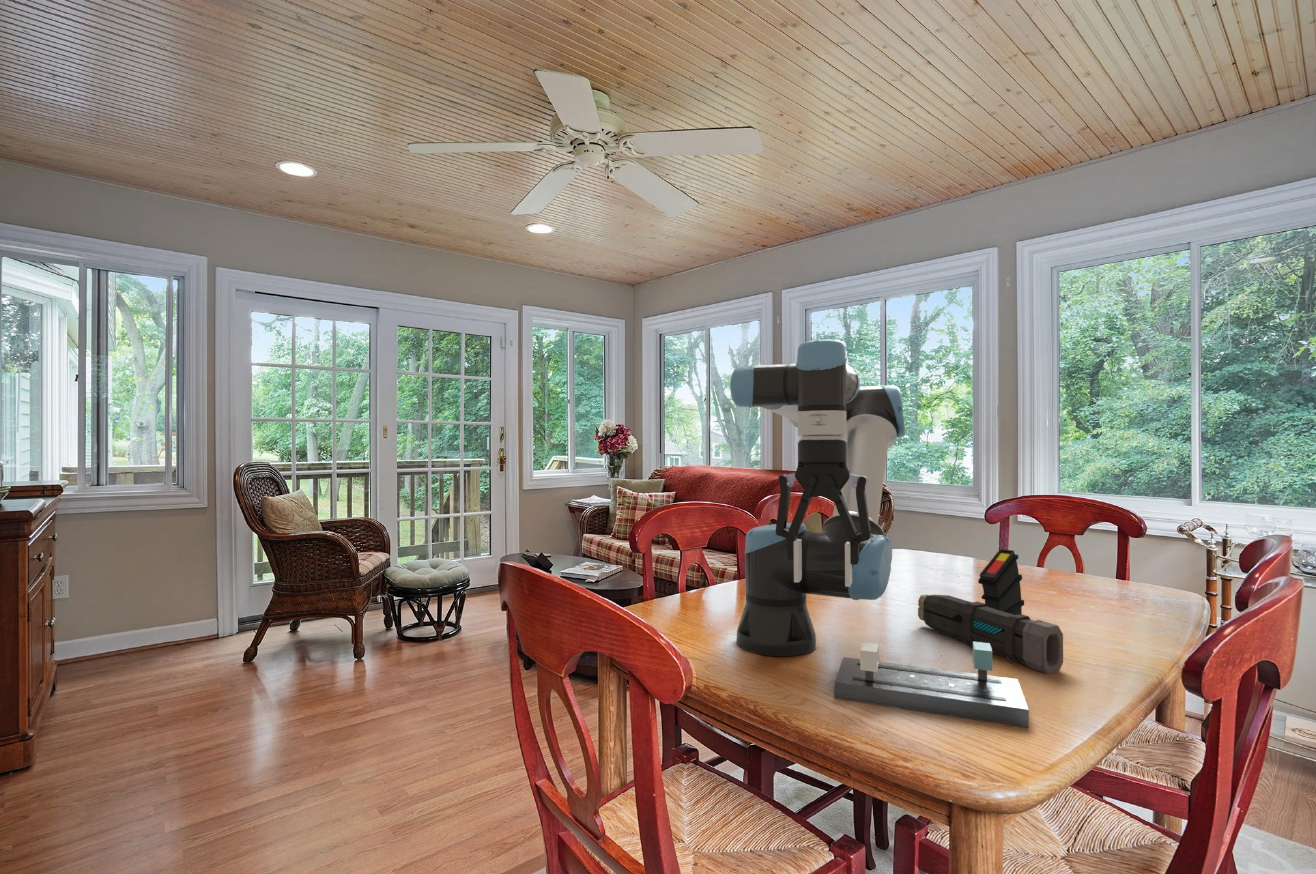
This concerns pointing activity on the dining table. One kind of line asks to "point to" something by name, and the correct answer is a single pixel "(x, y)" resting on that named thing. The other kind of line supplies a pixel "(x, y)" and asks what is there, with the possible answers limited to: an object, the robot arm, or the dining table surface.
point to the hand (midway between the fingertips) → (822, 582)
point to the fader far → (982, 659)
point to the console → (934, 692)
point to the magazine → (1002, 583)
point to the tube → (996, 630)
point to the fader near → (869, 659)
